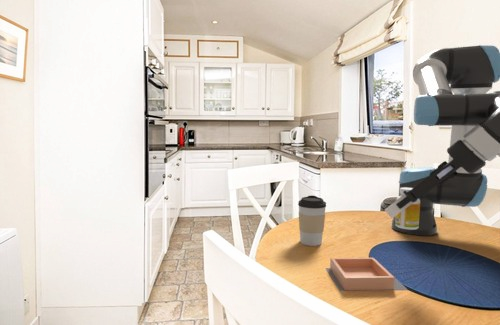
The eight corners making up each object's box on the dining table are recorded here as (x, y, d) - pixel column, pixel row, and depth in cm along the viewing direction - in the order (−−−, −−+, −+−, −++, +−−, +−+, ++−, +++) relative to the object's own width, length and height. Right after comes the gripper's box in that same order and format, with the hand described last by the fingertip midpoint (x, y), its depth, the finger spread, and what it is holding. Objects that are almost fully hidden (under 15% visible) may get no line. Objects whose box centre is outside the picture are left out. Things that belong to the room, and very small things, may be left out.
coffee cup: (325, 248, 102) (326, 201, 101) (296, 245, 104) (297, 199, 102) (324, 238, 111) (326, 195, 109) (297, 236, 113) (299, 194, 111)
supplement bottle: (422, 227, 81) (424, 188, 80) (413, 231, 78) (415, 191, 77) (400, 222, 85) (402, 186, 84) (391, 226, 82) (393, 188, 81)
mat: (384, 269, 87) (384, 267, 87) (407, 291, 75) (407, 289, 75) (325, 269, 86) (325, 268, 86) (339, 292, 75) (339, 290, 75)
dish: (372, 268, 87) (373, 257, 87) (394, 289, 75) (394, 277, 75) (330, 268, 86) (330, 257, 86) (344, 290, 75) (345, 278, 74)
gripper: (486, 166, 63) (392, 232, 75) (489, 160, 78) (410, 216, 89) (456, 138, 66) (370, 205, 77) (464, 137, 80) (391, 194, 92)
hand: (391, 211), depth 83 cm, fingers closed on supplement bottle, 5 cm apart
